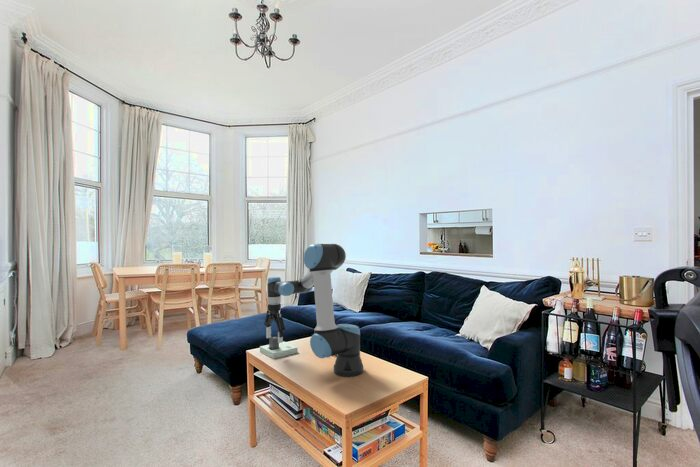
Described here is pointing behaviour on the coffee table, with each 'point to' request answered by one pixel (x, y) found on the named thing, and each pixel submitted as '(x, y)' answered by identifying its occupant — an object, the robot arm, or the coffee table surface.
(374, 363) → the coffee table surface
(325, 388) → the coffee table surface
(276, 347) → the charger block
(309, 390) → the coffee table surface
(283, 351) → the outlet plate
